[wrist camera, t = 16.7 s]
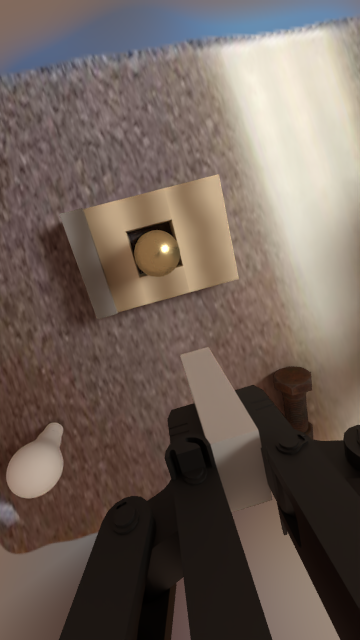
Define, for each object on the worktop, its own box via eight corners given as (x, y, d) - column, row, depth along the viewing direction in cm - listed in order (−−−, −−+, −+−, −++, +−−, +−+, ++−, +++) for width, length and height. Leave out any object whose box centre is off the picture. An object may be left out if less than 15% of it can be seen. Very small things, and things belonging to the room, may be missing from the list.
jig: (210, 181, 35) (220, 172, 30) (229, 275, 38) (240, 279, 34) (69, 218, 34) (57, 214, 29) (101, 310, 37) (95, 319, 33)
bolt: (284, 438, 49) (275, 364, 45) (316, 441, 47) (310, 364, 42) (282, 465, 44) (272, 385, 40) (317, 470, 42) (311, 387, 38)
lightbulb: (76, 444, 42) (54, 511, 32) (34, 443, 42) (-4, 511, 31) (78, 409, 41) (54, 467, 30) (33, 407, 40) (-6, 466, 29)
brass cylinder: (163, 227, 35) (172, 224, 25) (173, 259, 37) (185, 269, 26) (132, 237, 35) (127, 238, 25) (142, 269, 37) (142, 282, 26)
